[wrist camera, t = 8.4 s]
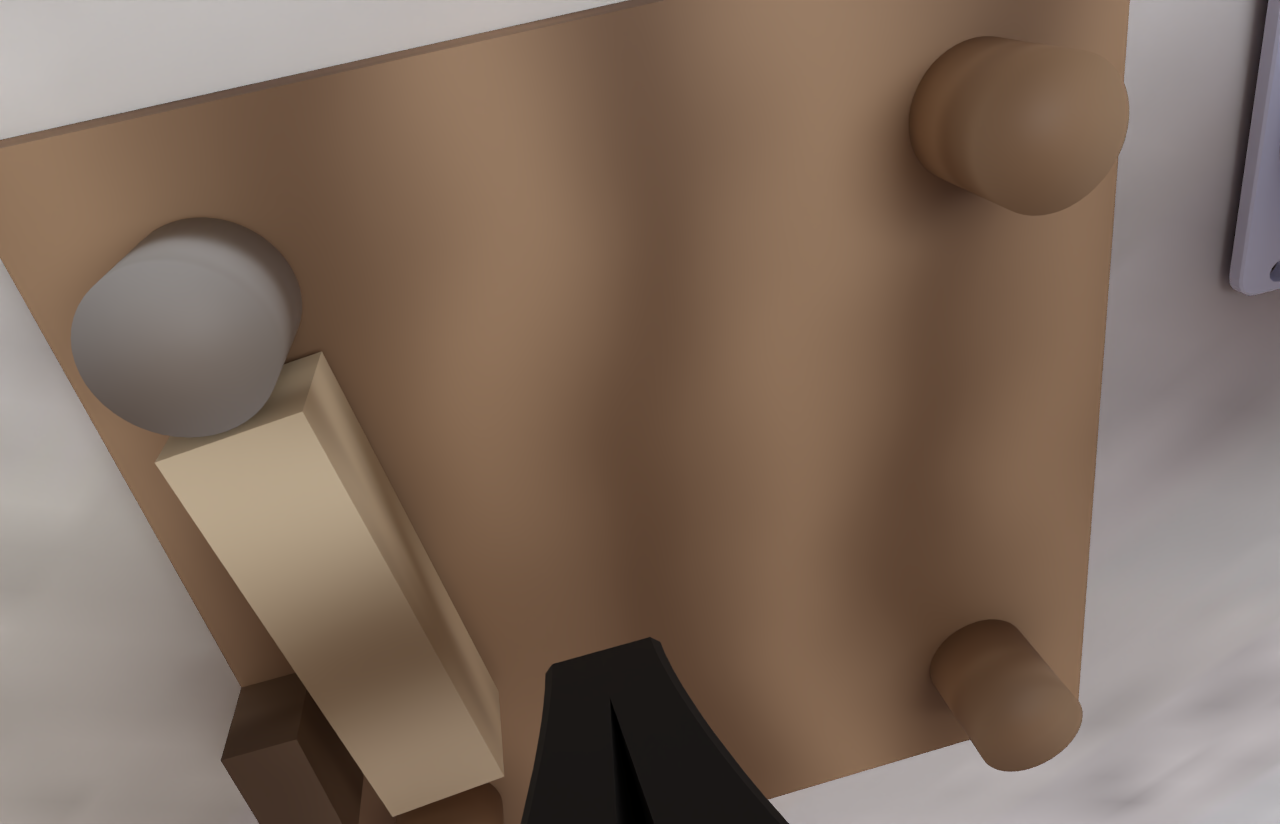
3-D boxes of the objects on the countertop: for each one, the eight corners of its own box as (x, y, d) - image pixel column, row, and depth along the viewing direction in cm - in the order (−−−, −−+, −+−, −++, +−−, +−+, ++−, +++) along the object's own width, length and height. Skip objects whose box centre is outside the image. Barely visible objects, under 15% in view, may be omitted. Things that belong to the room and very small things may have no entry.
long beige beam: (89, 250, 15) (28, 299, 12) (253, 194, 15) (221, 234, 13) (390, 731, 20) (383, 820, 18) (507, 688, 20) (513, 772, 18)
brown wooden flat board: (1083, -101, 17) (1250, -115, 13) (1046, 669, 26) (1137, 779, 23) (-11, 142, 15) (-149, 199, 12) (375, 866, 25) (362, 1016, 21)
